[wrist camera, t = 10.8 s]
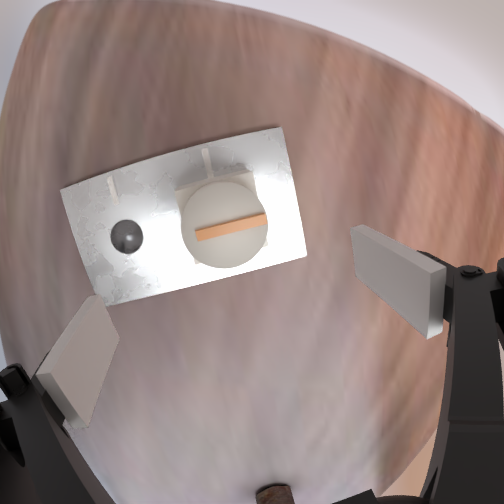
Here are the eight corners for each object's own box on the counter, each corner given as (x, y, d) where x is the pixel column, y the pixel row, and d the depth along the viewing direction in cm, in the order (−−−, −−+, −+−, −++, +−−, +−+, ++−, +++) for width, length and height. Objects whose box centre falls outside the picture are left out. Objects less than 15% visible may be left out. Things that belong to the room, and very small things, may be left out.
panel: (103, 303, 34) (93, 320, 30) (64, 188, 30) (47, 193, 26) (303, 252, 36) (315, 264, 32) (279, 127, 31) (289, 124, 27)
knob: (196, 252, 33) (193, 280, 25) (177, 186, 30) (169, 197, 23) (261, 235, 33) (277, 259, 26) (246, 169, 31) (259, 174, 24)
